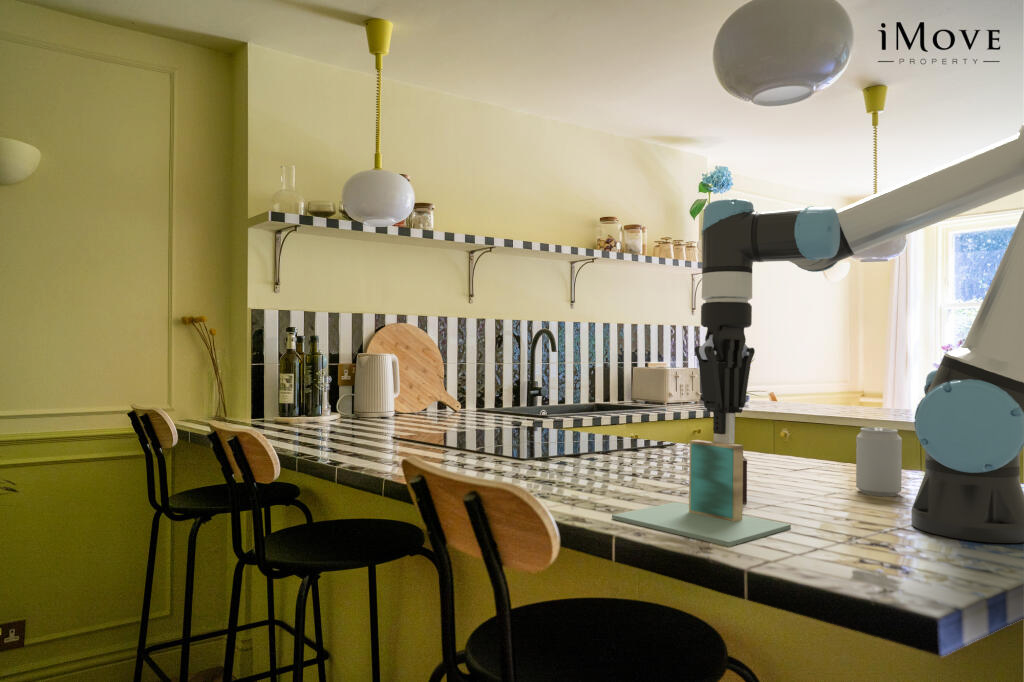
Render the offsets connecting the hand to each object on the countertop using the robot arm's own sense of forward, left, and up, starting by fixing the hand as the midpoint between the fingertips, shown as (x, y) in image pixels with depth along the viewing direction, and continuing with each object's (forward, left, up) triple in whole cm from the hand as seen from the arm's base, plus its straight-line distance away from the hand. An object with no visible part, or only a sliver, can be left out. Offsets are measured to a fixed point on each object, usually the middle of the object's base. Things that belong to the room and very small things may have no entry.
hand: (723, 455), depth 112 cm
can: (-6, -41, -10) cm, 43 cm away
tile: (0, +2, -9) cm, 9 cm away
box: (+8, -13, -10) cm, 18 cm away
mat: (0, +7, -10) cm, 12 cm away
